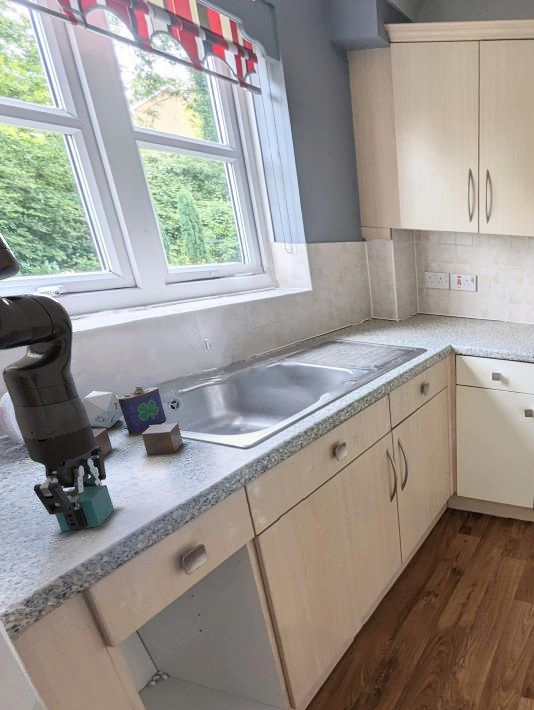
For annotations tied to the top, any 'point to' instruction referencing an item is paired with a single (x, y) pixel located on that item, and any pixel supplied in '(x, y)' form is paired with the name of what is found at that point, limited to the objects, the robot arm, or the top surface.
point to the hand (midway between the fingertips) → (88, 517)
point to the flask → (142, 409)
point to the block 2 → (162, 438)
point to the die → (102, 408)
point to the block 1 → (102, 440)
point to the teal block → (91, 506)
